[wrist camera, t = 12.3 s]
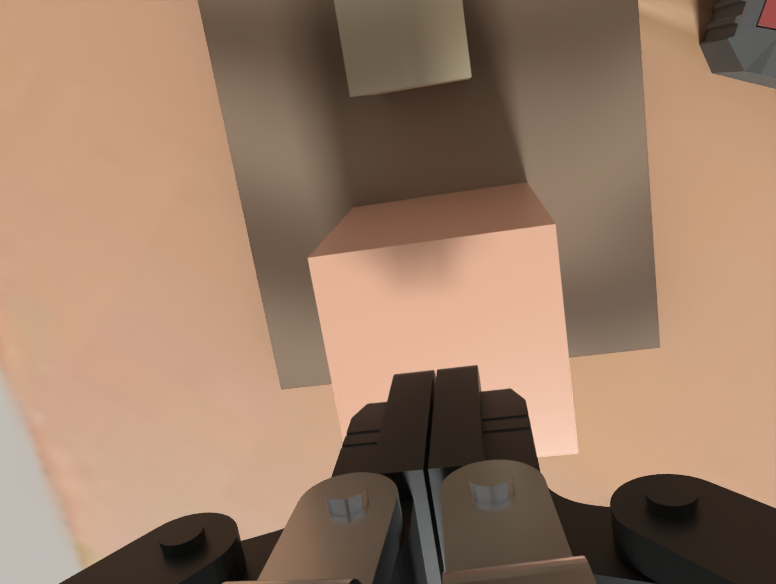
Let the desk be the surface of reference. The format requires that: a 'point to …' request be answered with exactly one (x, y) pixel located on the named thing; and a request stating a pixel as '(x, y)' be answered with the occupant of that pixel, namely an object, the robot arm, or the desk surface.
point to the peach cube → (449, 302)
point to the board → (439, 140)
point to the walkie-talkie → (743, 41)
